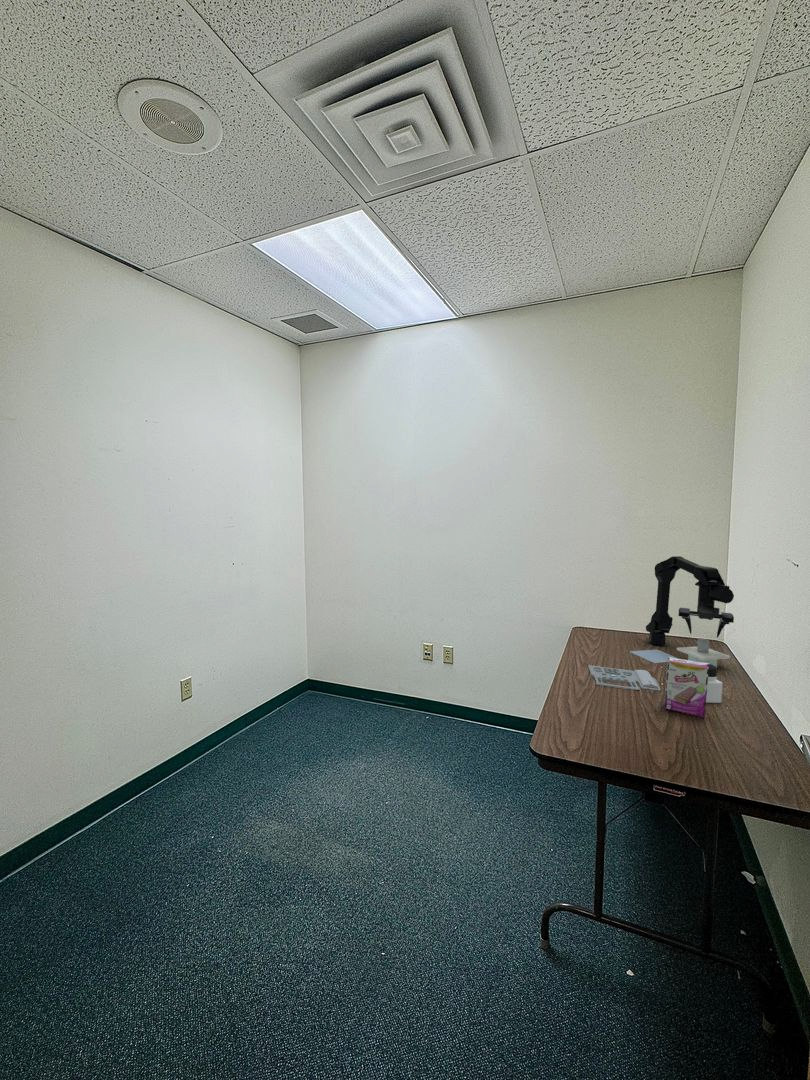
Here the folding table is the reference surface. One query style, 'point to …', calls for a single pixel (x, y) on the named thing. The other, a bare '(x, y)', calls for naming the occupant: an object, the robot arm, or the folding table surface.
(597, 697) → the folding table surface
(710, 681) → the medicine bottle
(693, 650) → the lid
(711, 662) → the bowl
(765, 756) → the folding table surface
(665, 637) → the robot arm
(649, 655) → the mat
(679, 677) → the candy bar box
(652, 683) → the office telephone
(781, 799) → the folding table surface
